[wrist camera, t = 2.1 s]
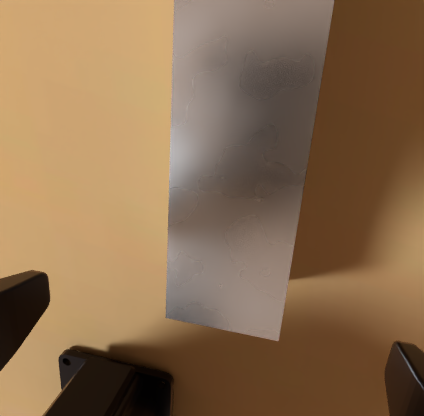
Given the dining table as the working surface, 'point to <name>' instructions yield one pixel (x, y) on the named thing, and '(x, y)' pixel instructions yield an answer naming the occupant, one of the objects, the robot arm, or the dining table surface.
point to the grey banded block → (240, 155)
